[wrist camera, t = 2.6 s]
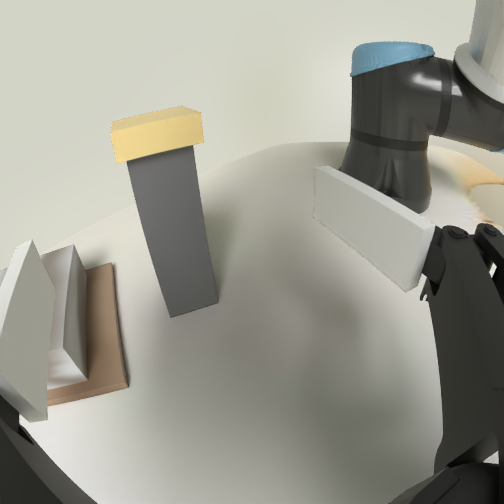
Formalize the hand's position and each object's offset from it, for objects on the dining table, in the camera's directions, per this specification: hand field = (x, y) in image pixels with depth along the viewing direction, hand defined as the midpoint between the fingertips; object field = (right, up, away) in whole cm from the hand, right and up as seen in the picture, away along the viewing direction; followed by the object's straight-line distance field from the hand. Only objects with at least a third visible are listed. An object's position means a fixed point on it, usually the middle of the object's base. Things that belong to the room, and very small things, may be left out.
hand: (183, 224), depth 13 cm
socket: (-18, -10, +10) cm, 23 cm away
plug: (-3, -5, +15) cm, 16 cm away
